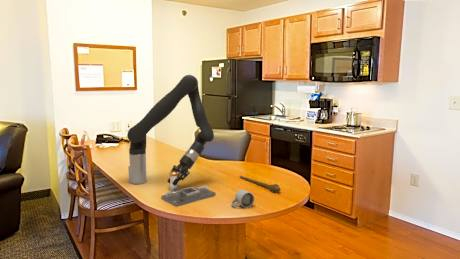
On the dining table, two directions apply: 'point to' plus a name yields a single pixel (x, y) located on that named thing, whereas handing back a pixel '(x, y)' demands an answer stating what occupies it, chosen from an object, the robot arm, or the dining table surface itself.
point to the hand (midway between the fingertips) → (171, 183)
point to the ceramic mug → (243, 199)
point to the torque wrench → (274, 187)
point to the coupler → (172, 177)
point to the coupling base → (188, 195)
